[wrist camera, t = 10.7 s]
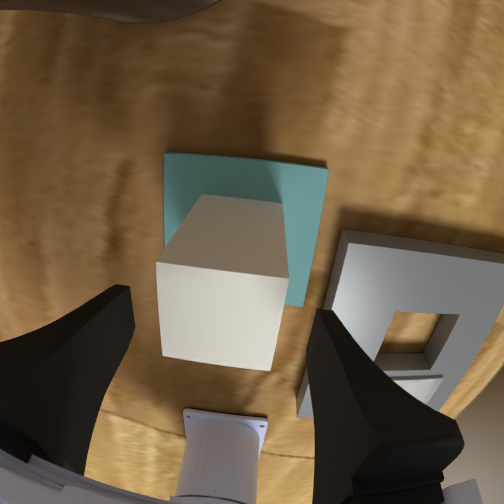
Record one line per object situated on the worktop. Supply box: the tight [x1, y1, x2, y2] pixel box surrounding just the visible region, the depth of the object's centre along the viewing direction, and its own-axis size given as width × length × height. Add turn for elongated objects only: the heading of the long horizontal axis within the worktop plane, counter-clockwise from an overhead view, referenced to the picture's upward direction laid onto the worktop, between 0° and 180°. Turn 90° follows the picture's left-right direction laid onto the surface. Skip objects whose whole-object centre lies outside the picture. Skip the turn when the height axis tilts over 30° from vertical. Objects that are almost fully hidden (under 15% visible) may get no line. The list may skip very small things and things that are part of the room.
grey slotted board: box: [296, 229, 504, 418], centre depth 21 cm, size 16×14×2 cm
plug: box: [156, 194, 289, 371], centre depth 15 cm, size 4×4×8 cm
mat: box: [164, 152, 329, 307], centre depth 19 cm, size 9×9×1 cm
